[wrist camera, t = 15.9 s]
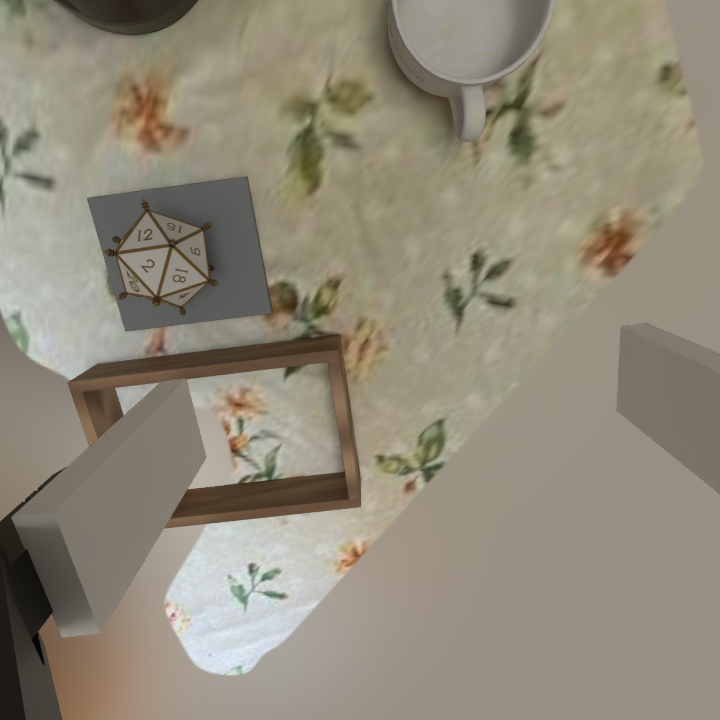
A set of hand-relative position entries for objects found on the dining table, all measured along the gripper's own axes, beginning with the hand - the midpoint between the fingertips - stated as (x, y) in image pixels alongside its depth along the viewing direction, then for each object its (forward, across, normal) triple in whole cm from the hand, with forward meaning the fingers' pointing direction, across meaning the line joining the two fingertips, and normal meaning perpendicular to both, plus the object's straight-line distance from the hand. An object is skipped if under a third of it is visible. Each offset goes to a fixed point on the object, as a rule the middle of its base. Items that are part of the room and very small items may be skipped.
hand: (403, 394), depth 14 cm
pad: (+31, -17, +3) cm, 35 cm away
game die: (+30, -17, +3) cm, 35 cm away
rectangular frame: (+31, -16, -14) cm, 37 cm away
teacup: (+31, +8, +16) cm, 36 cm away
